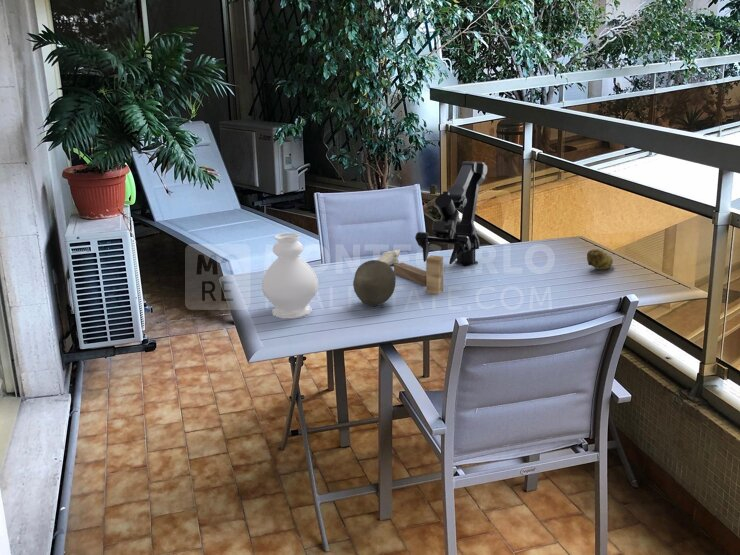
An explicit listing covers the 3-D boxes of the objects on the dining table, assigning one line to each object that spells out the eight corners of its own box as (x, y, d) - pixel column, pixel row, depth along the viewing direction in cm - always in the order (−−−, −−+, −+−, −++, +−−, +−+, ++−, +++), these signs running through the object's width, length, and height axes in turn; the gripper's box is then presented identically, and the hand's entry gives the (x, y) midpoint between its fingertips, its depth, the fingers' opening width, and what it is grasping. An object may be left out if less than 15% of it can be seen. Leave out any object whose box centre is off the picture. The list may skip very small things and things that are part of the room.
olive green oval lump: (621, 269, 270) (623, 247, 267) (594, 274, 264) (596, 253, 262) (605, 263, 277) (606, 242, 274) (578, 268, 271) (580, 247, 269)
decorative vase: (272, 325, 225) (267, 246, 217) (257, 307, 241) (251, 233, 233) (327, 315, 232) (324, 238, 224) (309, 299, 247) (305, 226, 240)
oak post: (430, 288, 254) (430, 255, 251) (443, 290, 252) (443, 256, 249) (426, 292, 250) (426, 258, 247) (438, 294, 249) (438, 259, 245)
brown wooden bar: (402, 271, 274) (402, 262, 273) (433, 283, 260) (433, 273, 259) (393, 273, 272) (393, 264, 271) (424, 285, 257) (424, 276, 256)
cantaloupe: (345, 303, 242) (343, 259, 238) (382, 295, 249) (381, 252, 244) (366, 316, 230) (365, 270, 226) (405, 307, 237) (404, 263, 232)
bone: (383, 249, 287) (387, 262, 289) (358, 270, 270) (362, 284, 272) (400, 247, 283) (403, 260, 285) (375, 268, 266) (380, 282, 268)
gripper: (416, 208, 254) (405, 248, 248) (469, 212, 246) (458, 253, 240) (425, 226, 263) (413, 264, 257) (475, 230, 255) (465, 269, 249)
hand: (437, 262), depth 250 cm, fingers open, 9 cm apart
